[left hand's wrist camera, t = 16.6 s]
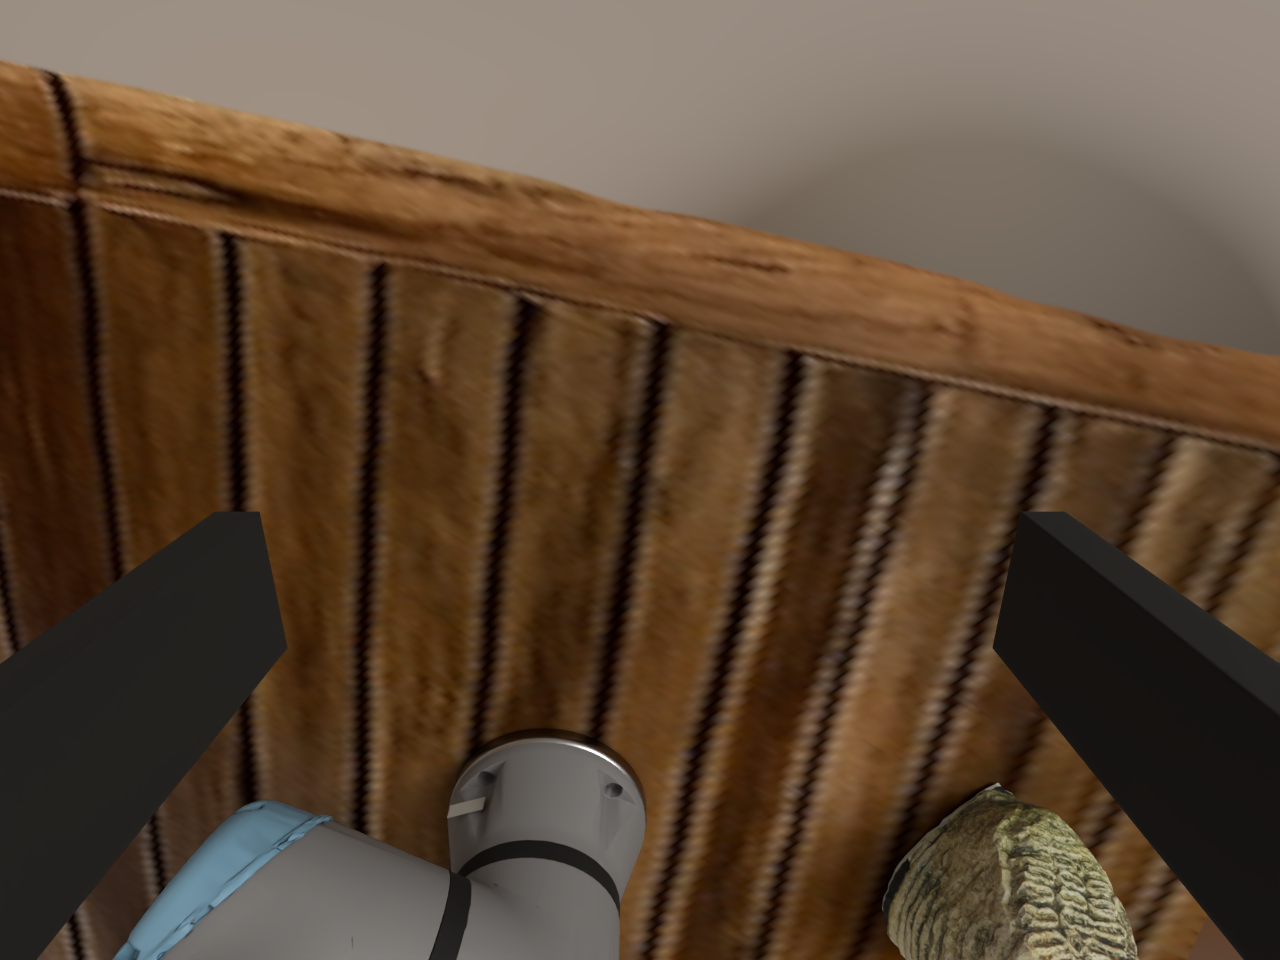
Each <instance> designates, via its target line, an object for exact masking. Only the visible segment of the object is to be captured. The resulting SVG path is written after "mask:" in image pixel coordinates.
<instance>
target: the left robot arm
mask: <svg viewBox="0 0 1280 960" xmlns="http://www.w3.org/2000/svg"><path fill="white" fill-rule="evenodd" d="M286 649H287V644H286V639H285V634H284V629H283V624H282V619H281V614H280V609H279V605H278V600H277V595H276V590H275V585H274V580H273V575H272V571H271V566H270V561H269V556H268V551H267V546H266V541H265V536H264V532H263V527H262V522H261V517H260V512H214V513H213V514H211V515H210V516H208V517H207V518H205V519H204V520H203V521H201V522H200V523H198V524H197V525H196V526H194V527H193V528H191V529H190V530H189V531H187V532H186V533H184V534H183V535H182V536H180V537H179V538H177V539H176V540H174V541H173V542H172V543H170V544H169V545H167V546H166V547H165V548H163V549H162V550H160V551H159V552H158V553H156V554H155V555H153V556H152V557H151V558H149V559H148V560H146V561H145V562H143V563H142V564H141V565H139V566H138V567H136V568H135V569H134V570H132V571H131V572H129V573H128V574H127V575H125V576H124V577H122V578H121V579H119V580H118V581H117V582H115V583H114V584H112V585H111V586H110V587H108V588H107V589H105V590H104V591H103V592H101V593H100V594H98V595H97V596H96V597H94V598H93V599H91V600H90V601H88V602H87V603H86V604H84V605H83V606H81V607H80V608H79V609H77V610H76V611H74V612H73V613H72V614H70V615H69V616H67V617H66V618H64V619H63V620H62V621H60V622H59V623H57V624H56V625H55V626H53V627H52V628H50V629H49V630H48V631H46V632H45V633H43V634H42V635H41V636H39V637H38V638H36V639H35V640H33V641H32V642H31V643H29V644H28V645H26V646H25V647H24V648H22V649H21V650H19V651H18V652H17V653H15V654H14V655H12V656H11V657H9V658H8V659H7V660H5V661H4V662H2V663H1V664H0V960H36V959H37V958H38V957H39V956H40V954H41V953H42V952H43V951H44V949H45V948H46V947H47V946H48V944H49V943H50V942H51V941H52V940H53V938H54V937H55V936H56V935H57V933H58V932H59V931H60V930H61V928H62V927H63V926H64V925H65V923H66V922H67V921H68V920H69V918H70V917H71V916H72V915H73V913H74V912H75V911H76V910H77V908H78V907H79V906H80V905H81V904H82V902H83V901H84V900H85V899H86V897H87V896H88V895H89V894H90V892H91V891H92V890H93V889H94V887H95V886H96V885H97V884H98V882H99V881H100V880H101V879H102V877H103V876H104V875H105V874H106V872H107V871H108V870H109V869H110V868H111V866H112V865H113V864H114V863H115V861H116V860H117V859H118V858H119V856H120V855H121V854H122V853H123V851H124V850H125V849H126V848H127V846H128V845H129V844H130V843H131V841H132V840H133V839H134V838H135V836H136V835H137V834H138V833H139V832H140V830H141V829H142V828H143V827H144V825H145V824H146V823H147V822H148V820H149V819H150V818H151V817H152V815H153V814H154V813H155V812H156V810H157V809H158V808H159V807H160V805H161V804H162V803H163V802H164V801H165V799H166V798H167V797H168V796H169V794H170V793H171V792H172V791H173V789H174V788H175V787H176V786H177V784H178V783H179V782H180V781H181V779H182V778H183V777H184V776H185V774H186V773H187V772H188V771H189V769H190V768H191V767H192V766H193V765H194V763H195V762H196V761H197V760H198V758H199V757H200V756H201V755H202V753H203V752H204V751H205V750H206V748H207V747H208V746H209V745H210V743H211V742H212V741H213V740H214V738H215V737H216V736H217V735H218V733H219V732H220V731H221V730H222V729H223V727H224V726H225V725H226V724H227V722H228V721H229V720H230V719H231V717H232V716H233V715H234V714H235V712H236V711H237V710H238V709H239V707H240V706H241V705H242V704H243V702H244V701H245V700H246V699H247V697H248V696H249V695H250V694H251V693H252V691H253V690H254V689H255V688H256V686H257V685H258V684H259V683H260V681H261V680H262V679H263V678H264V676H265V675H266V674H267V673H268V671H269V670H270V669H271V668H272V666H273V665H274V664H275V663H276V662H277V660H278V659H279V658H280V657H281V655H282V654H283V653H284V652H285V650H286ZM993 649H994V650H995V652H996V653H997V654H998V655H999V657H1000V658H1001V659H1002V660H1003V662H1004V663H1005V664H1006V665H1007V666H1008V668H1009V669H1010V670H1011V671H1012V673H1013V674H1014V675H1015V676H1016V678H1017V679H1018V680H1019V681H1020V683H1021V684H1022V685H1023V686H1024V688H1025V689H1026V690H1027V691H1028V693H1029V694H1030V695H1031V696H1032V698H1033V699H1034V700H1035V701H1036V702H1037V704H1038V705H1039V706H1040V707H1041V709H1042V710H1043V711H1044V712H1045V714H1046V715H1047V716H1048V717H1049V719H1050V720H1051V721H1052V722H1053V724H1054V725H1055V726H1056V727H1057V729H1058V730H1059V731H1060V732H1061V733H1062V735H1063V736H1064V737H1065V738H1066V740H1067V741H1068V742H1069V743H1070V745H1071V746H1072V747H1073V748H1074V750H1075V751H1076V752H1077V753H1078V755H1079V756H1080V757H1081V758H1082V760H1083V761H1084V762H1085V763H1086V765H1087V766H1088V767H1089V768H1090V769H1091V771H1092V772H1093V773H1094V774H1095V776H1096V777H1097V778H1098V779H1099V781H1100V782H1101V783H1102V784H1103V786H1104V787H1105V788H1106V789H1107V791H1108V792H1109V793H1110V794H1111V796H1112V797H1113V798H1114V799H1115V801H1116V802H1117V803H1118V804H1119V805H1120V807H1121V808H1122V809H1123V810H1124V812H1125V813H1126V814H1127V815H1128V817H1129V818H1130V819H1131V820H1132V822H1133V823H1134V824H1135V825H1136V827H1137V828H1138V829H1139V830H1140V832H1141V833H1142V834H1143V835H1144V837H1145V838H1146V839H1147V840H1148V841H1149V843H1150V844H1151V845H1152V846H1153V848H1154V849H1155V850H1156V851H1157V853H1158V854H1159V855H1160V856H1161V858H1162V859H1163V860H1164V861H1165V863H1166V864H1167V865H1168V866H1169V868H1170V869H1171V870H1172V871H1173V872H1174V874H1175V875H1176V876H1177V877H1178V879H1179V880H1180V881H1181V882H1182V884H1183V885H1184V886H1185V887H1186V889H1187V890H1188V891H1189V892H1190V894H1191V895H1192V896H1193V897H1194V899H1195V900H1196V901H1197V902H1198V904H1199V905H1200V906H1201V907H1202V908H1203V910H1204V911H1205V912H1206V913H1207V915H1208V916H1209V917H1210V918H1211V920H1212V921H1213V922H1214V923H1215V925H1216V926H1217V927H1218V928H1219V930H1220V931H1221V932H1222V933H1223V935H1224V936H1225V937H1226V938H1227V939H1228V941H1229V942H1230V943H1231V944H1232V946H1233V947H1234V948H1235V949H1236V951H1237V952H1238V953H1239V954H1240V956H1241V957H1242V958H1243V959H1244V960H1280V663H1279V662H1276V661H1275V660H1273V659H1272V658H1271V657H1269V656H1268V655H1266V654H1265V653H1263V652H1262V651H1261V650H1259V649H1258V648H1256V647H1255V646H1254V645H1252V644H1251V643H1249V642H1248V641H1247V640H1245V639H1244V638H1242V637H1241V636H1239V635H1238V634H1237V633H1235V632H1234V631H1232V630H1231V629H1230V628H1228V627H1227V626H1225V625H1224V624H1223V623H1221V622H1220V621H1218V620H1217V619H1216V618H1214V617H1213V616H1211V615H1210V614H1208V613H1207V612H1206V611H1204V610H1203V609H1201V608H1200V607H1199V606H1197V605H1196V604H1194V603H1193V602H1192V601H1190V600H1189V599H1187V598H1186V597H1184V596H1183V595H1182V594H1180V593H1179V592H1177V591H1176V590H1175V589H1173V588H1172V587H1170V586H1169V585H1168V584H1166V583H1165V582H1163V581H1162V580H1161V579H1159V578H1158V577H1156V576H1155V575H1153V574H1152V573H1151V572H1149V571H1148V570H1146V569H1145V568H1144V567H1142V566H1141V565H1139V564H1138V563H1137V562H1135V561H1134V560H1132V559H1131V558H1129V557H1128V556H1127V555H1125V554H1124V553H1122V552H1121V551H1120V550H1118V549H1117V548H1115V547H1114V546H1113V545H1111V544H1110V543H1108V542H1107V541H1106V540H1104V539H1103V538H1101V537H1100V536H1098V535H1097V534H1096V533H1094V532H1093V531H1091V530H1090V529H1089V528H1087V527H1086V526H1084V525H1083V524H1082V523H1080V522H1079V521H1077V520H1076V519H1075V518H1073V517H1072V516H1070V515H1069V514H1067V513H1066V512H1020V517H1019V522H1018V527H1017V532H1016V536H1015V541H1014V546H1013V551H1012V556H1011V561H1010V566H1009V571H1008V575H1007V580H1006V585H1005V590H1004V595H1003V600H1002V605H1001V609H1000V614H999V619H998V624H997V629H996V634H995V639H994V644H993ZM447 818H448V833H449V846H450V858H451V871H452V872H451V871H449V870H447V869H445V868H443V867H440V866H438V865H435V864H433V863H430V862H428V861H426V860H423V859H421V858H418V857H416V856H414V855H411V854H409V853H407V852H404V851H402V850H400V849H398V848H395V847H393V846H391V845H388V844H386V843H384V842H381V841H379V840H377V839H375V838H372V837H370V836H368V835H365V834H363V833H361V832H358V831H356V830H354V829H352V828H349V827H347V826H345V825H342V824H340V823H338V822H335V821H333V817H331V816H329V815H319V816H318V815H315V814H312V813H309V812H306V811H304V810H301V809H298V808H295V807H292V806H290V805H287V804H284V803H281V802H278V801H275V800H260V801H256V802H253V803H250V804H248V805H246V806H244V807H242V808H240V809H239V810H237V811H236V812H235V813H233V814H232V815H231V816H230V817H229V818H227V819H226V820H225V821H224V822H223V823H222V824H221V825H220V826H219V827H218V828H217V829H216V830H215V831H214V832H213V833H212V834H211V835H210V836H209V837H208V838H207V839H206V840H205V841H204V843H203V844H202V845H201V846H200V847H199V848H198V849H197V850H196V852H195V853H194V854H193V855H192V856H191V857H190V858H189V860H188V861H187V862H186V863H185V864H184V865H183V867H182V868H181V869H180V870H179V871H178V873H177V874H176V875H175V876H174V877H173V879H172V880H171V881H170V882H169V884H168V885H167V886H166V887H165V889H164V890H163V891H162V892H161V893H160V895H159V896H158V897H157V899H156V900H155V901H154V902H153V904H152V905H151V906H150V907H149V909H148V910H147V911H146V913H145V914H144V915H143V917H142V918H141V919H140V921H139V922H138V923H137V925H136V926H135V928H134V929H133V930H132V932H131V933H130V935H129V938H128V941H127V942H126V943H125V944H124V945H123V946H122V947H121V948H120V950H119V951H118V953H117V954H116V956H115V957H114V958H113V959H112V960H619V933H620V901H621V898H622V896H623V893H624V891H625V888H626V886H627V883H628V880H629V878H630V875H631V873H632V870H633V868H634V865H635V863H636V860H637V857H638V855H639V852H640V850H641V847H642V844H643V839H644V834H645V829H646V800H645V794H644V790H643V787H642V784H641V782H640V780H639V778H638V776H637V774H636V773H635V771H634V770H633V769H632V767H631V766H630V765H629V764H628V762H627V761H626V760H625V759H624V758H623V757H621V756H620V755H619V754H618V753H617V752H615V751H614V750H613V749H611V748H610V747H608V746H607V745H605V744H603V743H601V742H599V741H597V740H595V739H593V738H590V737H588V736H585V735H582V734H579V733H575V732H570V731H565V730H557V729H534V730H526V731H520V732H516V733H512V734H509V735H506V736H503V737H501V738H498V739H496V740H494V741H492V742H490V743H489V744H487V745H486V746H484V747H483V748H481V749H480V750H479V751H477V752H476V753H475V754H474V755H473V756H472V757H471V758H470V759H469V760H468V761H467V763H466V764H465V765H464V767H463V768H462V770H461V772H460V774H459V776H458V778H457V781H456V783H455V786H454V789H453V793H452V796H451V799H450V804H449V812H448V816H447Z"/></svg>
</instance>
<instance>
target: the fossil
mask: <svg viewBox="0 0 1280 960" xmlns="http://www.w3.org/2000/svg"><path fill="white" fill-rule="evenodd" d="M882 910H883V912H884V914H885V918H886V921H887V935H888V937H889V938H890V940H891V941H892V942H893V943H894V944H895V945H896V946H897V947H898V948H899V949H900V953H901V955H902V956H903V957H904V958H905V959H906V960H1139V959H1138V957H1137V946H1136V944H1135V941H1134V938H1133V933H1132V929H1131V924H1130V921H1129V919H1128V916H1127V914H1126V912H1125V909H1124V907H1123V905H1122V903H1121V902H1120V901H1119V899H1118V898H1117V897H1116V896H1115V895H1114V892H1113V888H1112V885H1111V883H1110V881H1109V879H1108V876H1107V874H1106V872H1105V871H1104V870H1102V868H1101V865H1100V864H1099V863H1098V862H1097V861H1096V859H1095V858H1094V856H1093V855H1092V853H1091V852H1090V851H1089V850H1088V849H1087V847H1086V846H1085V845H1084V844H1083V842H1082V841H1081V840H1080V838H1079V837H1078V836H1077V834H1076V833H1075V832H1074V831H1073V830H1072V829H1071V828H1070V827H1069V826H1068V824H1067V823H1066V822H1065V821H1064V820H1062V819H1061V818H1060V817H1059V816H1058V815H1057V814H1056V813H1054V812H1052V811H1050V810H1048V809H1046V808H1044V807H1038V806H1035V805H1032V804H1027V803H1022V802H1018V801H1017V800H1016V799H1015V796H1014V795H1013V794H1012V793H1010V792H1008V791H1006V790H1004V789H1003V788H1002V787H1001V785H1000V784H999V783H997V784H995V785H992V786H990V787H988V788H986V789H984V790H982V791H981V792H979V793H978V794H977V795H976V796H975V797H974V798H972V799H971V800H969V801H967V802H966V803H964V804H963V805H962V806H960V807H959V808H957V809H956V810H955V811H954V812H953V813H952V814H950V815H949V816H947V817H946V818H945V819H943V820H942V822H941V823H940V825H939V826H937V827H936V828H934V829H933V830H931V831H930V832H928V833H927V834H926V835H925V836H924V837H923V838H922V839H921V840H920V841H919V842H918V843H917V844H916V845H915V846H914V847H913V848H912V849H911V850H910V851H909V852H908V853H907V854H906V856H905V857H904V858H903V859H902V861H901V862H900V863H899V864H898V866H897V868H896V869H895V871H894V873H893V876H892V878H891V880H890V882H889V884H888V890H887V892H886V893H885V895H884V898H883V904H882Z"/></svg>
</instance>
